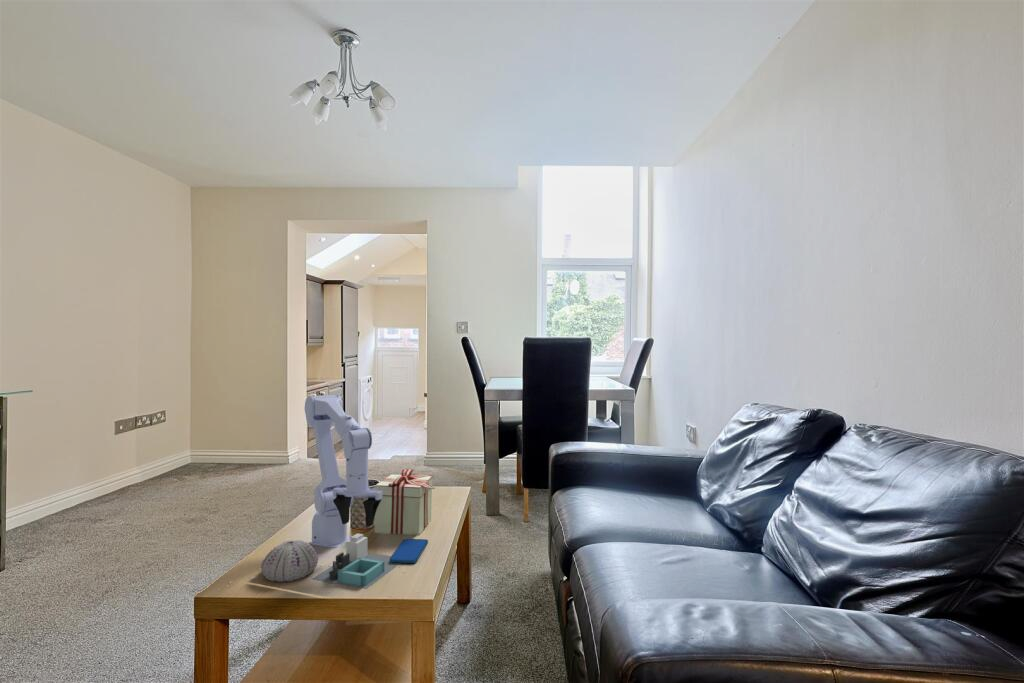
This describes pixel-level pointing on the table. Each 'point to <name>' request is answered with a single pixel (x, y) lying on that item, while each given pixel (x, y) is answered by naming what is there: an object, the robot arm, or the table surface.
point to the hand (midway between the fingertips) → (357, 524)
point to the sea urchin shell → (289, 561)
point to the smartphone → (409, 551)
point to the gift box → (404, 503)
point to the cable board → (357, 570)
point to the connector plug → (356, 547)
